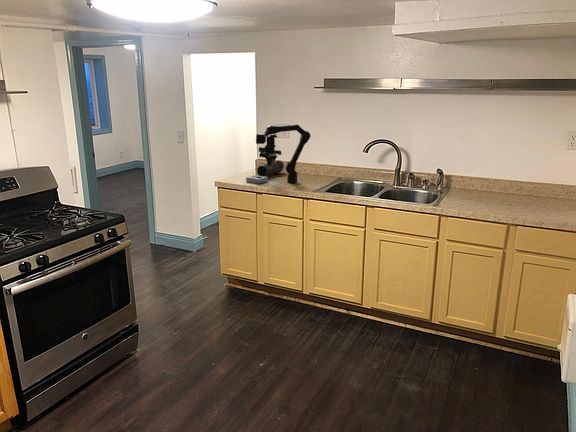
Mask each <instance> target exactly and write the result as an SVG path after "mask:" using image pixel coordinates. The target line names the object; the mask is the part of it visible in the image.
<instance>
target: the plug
mask: <svg viewBox="0 0 576 432" xmlns="http://www.w3.org/2000/svg"><path fill="white" fill-rule="evenodd" d="M266 164H267V169H274V159H272V160H271V165H270V166H268V163H267V162H266Z"/></svg>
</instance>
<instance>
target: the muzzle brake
mask: <svg viewBox="0 0 576 432" xmlns="http://www.w3.org/2000/svg"><path fill="white" fill-rule="evenodd" d="M284 169H285V163H284V162H283V161H282V160H278V159H277V160H275V161H274V169H267V163H266V164H262V165H258V167H257V169H256V173H257V176H264V177H271V176H272V175H274V174H275V175H277V174H278V173H282V172H283V170H284Z"/></svg>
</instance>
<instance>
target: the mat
mask: <svg viewBox="0 0 576 432" xmlns="http://www.w3.org/2000/svg"><path fill="white" fill-rule="evenodd" d="M262 184H265V185H270V186H275V185H279V184H280V182H277V181H268V182H265V183H262Z"/></svg>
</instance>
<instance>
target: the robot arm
mask: <svg viewBox="0 0 576 432" xmlns="http://www.w3.org/2000/svg"><path fill="white" fill-rule="evenodd" d="M291 131H292V132H293V131H294V132H295V131H296V132H297V133H298V134H299V135H300V137H299V141H298V145H297V146H296V148H295V151H294V153H293V155H292V156H291V159H290V161H288V160H287V161H286V164H284V169H285V172H286V173H287V176H286V177H287V178H286V180H287V181H286V184H292V185H295V184H298V183H299V181H298V172H297V171H296V170H295V169H296V166H297V165H296V164H297V162H298V159H299V158H300V155H301V153H302V151H303V149H304V147H305V145H306V143H308V141H309V140H310V138H311V135H312V134H311V133H310V132H309V131H308V130H305V129H303V128H302V126H300V125H299V124H297V123H296V124H291V125H290V124H289V125H280V126H279V125H272V124H271V125H270V124H269V125H268V126H266V129H265V131H264V133H262V134H261V133H260V134H259V133H256V134H255V135H256V137H255V145H259V144H260V145H263V144H265V143H266V144H265V146H264V147H262V146H259V147H258V152H259V154H258V155H259V158H264V159H265V160H266V164H267V163H268V166H270V165H271V160H272V159H274V161H277V160H276V159H277V158H278V156H281V155H282V150H280V149H279V150H278V149H276V147H277V146H276V143H275V142H276V141H275V140H276V139H275V138H278V136H277V133H282V132H291Z"/></svg>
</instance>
